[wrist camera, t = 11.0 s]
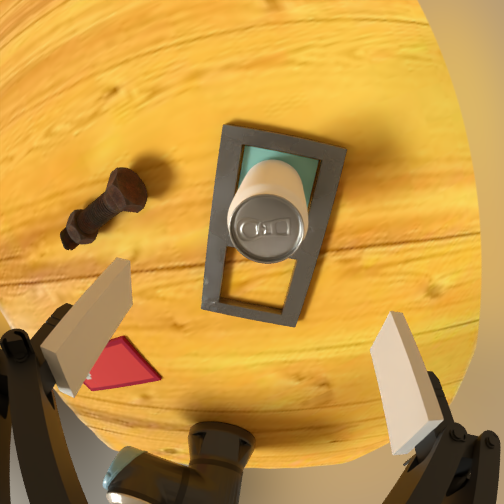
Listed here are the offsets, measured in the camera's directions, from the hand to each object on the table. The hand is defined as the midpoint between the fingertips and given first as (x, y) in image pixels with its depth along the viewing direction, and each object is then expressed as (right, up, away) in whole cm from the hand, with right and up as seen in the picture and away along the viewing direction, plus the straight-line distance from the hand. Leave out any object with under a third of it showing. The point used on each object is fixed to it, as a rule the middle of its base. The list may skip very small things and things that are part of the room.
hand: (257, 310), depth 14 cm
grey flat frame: (+1, +5, +22) cm, 22 cm away
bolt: (-20, +9, +23) cm, 31 cm away
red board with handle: (-34, -20, +39) cm, 55 cm away
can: (+2, +10, +19) cm, 21 cm away
